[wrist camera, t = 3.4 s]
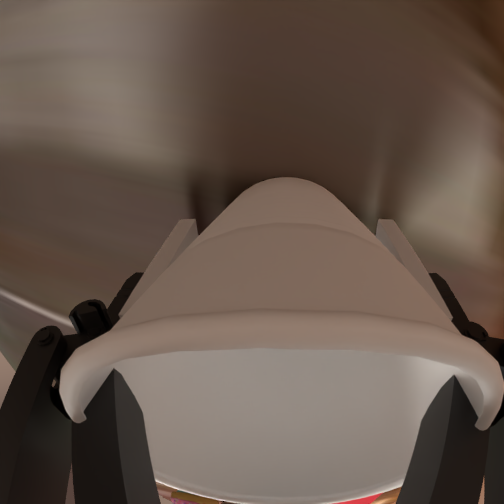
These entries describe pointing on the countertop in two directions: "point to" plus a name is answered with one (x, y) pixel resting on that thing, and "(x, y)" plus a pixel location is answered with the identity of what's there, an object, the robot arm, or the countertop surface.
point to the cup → (284, 356)
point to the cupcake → (190, 498)
